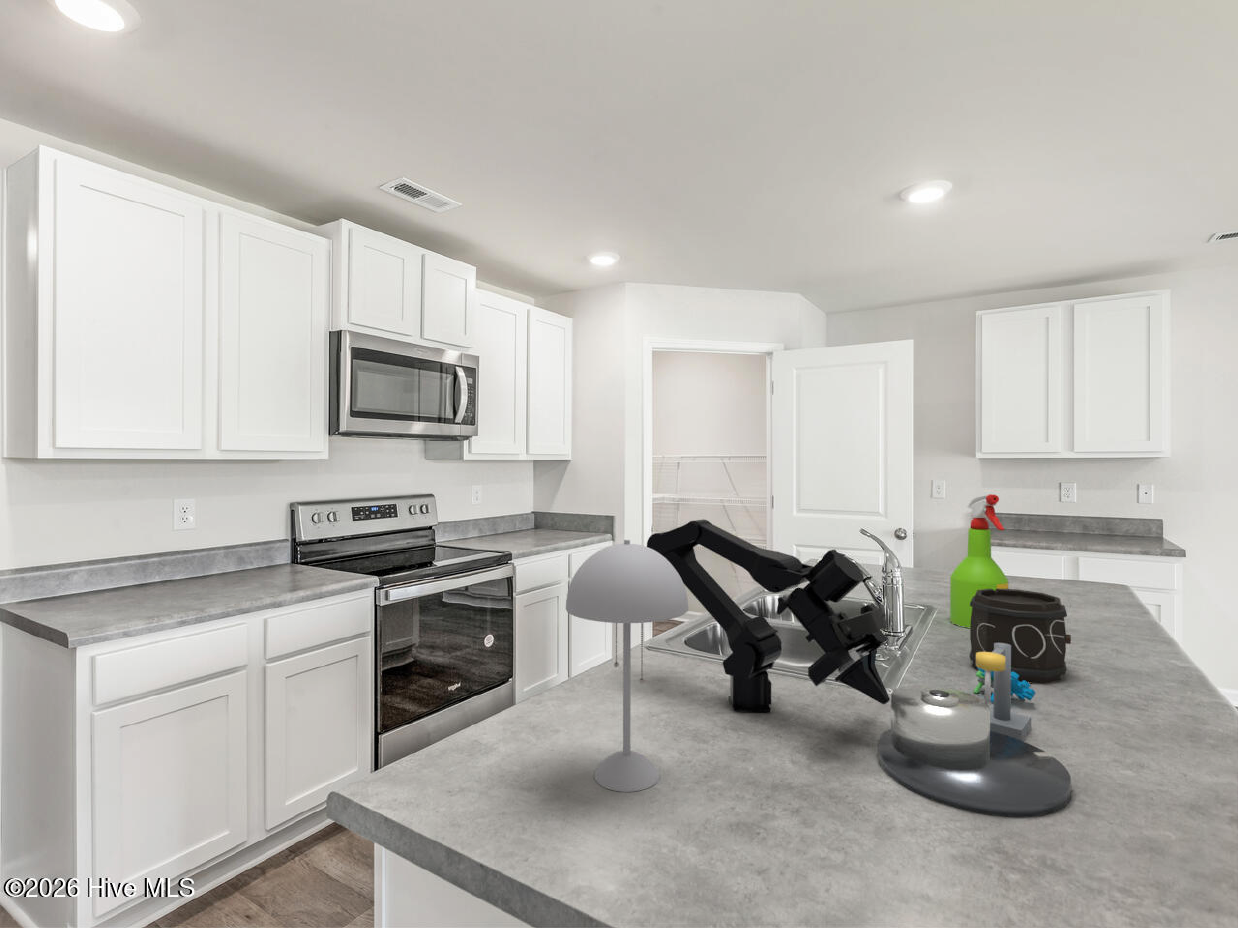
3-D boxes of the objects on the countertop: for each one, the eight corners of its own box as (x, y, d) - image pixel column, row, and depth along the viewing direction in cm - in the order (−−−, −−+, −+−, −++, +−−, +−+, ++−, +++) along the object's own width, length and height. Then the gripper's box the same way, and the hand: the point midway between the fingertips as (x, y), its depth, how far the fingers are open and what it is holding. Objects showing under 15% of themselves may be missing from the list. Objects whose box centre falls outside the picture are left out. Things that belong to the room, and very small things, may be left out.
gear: (1049, 699, 117) (1012, 661, 116) (1032, 726, 116) (994, 687, 115) (1000, 687, 128) (966, 652, 127) (984, 711, 126) (949, 676, 126)
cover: (913, 768, 90) (914, 709, 90) (877, 729, 103) (877, 677, 103) (1009, 769, 90) (1009, 710, 90) (960, 729, 103) (961, 678, 103)
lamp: (572, 747, 101) (572, 532, 101) (683, 749, 101) (684, 533, 100) (558, 806, 84) (558, 548, 84) (692, 808, 84) (693, 549, 83)
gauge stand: (983, 717, 113) (984, 636, 113) (1031, 729, 108) (1031, 644, 108) (961, 742, 103) (962, 653, 103) (1012, 755, 99) (1013, 662, 99)
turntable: (921, 815, 82) (922, 796, 82) (854, 734, 106) (855, 719, 106) (1116, 817, 82) (1116, 797, 82) (1004, 735, 106) (1005, 720, 106)
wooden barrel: (1073, 692, 125) (1074, 609, 125) (966, 675, 135) (967, 598, 135) (1068, 666, 141) (1069, 593, 141) (973, 653, 150) (973, 584, 150)
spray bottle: (975, 635, 165) (976, 495, 164) (940, 617, 183) (941, 491, 182) (1030, 635, 165) (1031, 495, 164) (990, 618, 183) (991, 491, 182)
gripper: (826, 598, 98) (903, 689, 91) (875, 581, 112) (945, 659, 105) (779, 641, 104) (848, 731, 96) (831, 620, 118) (895, 696, 110)
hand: (887, 702), depth 102 cm, fingers closed
